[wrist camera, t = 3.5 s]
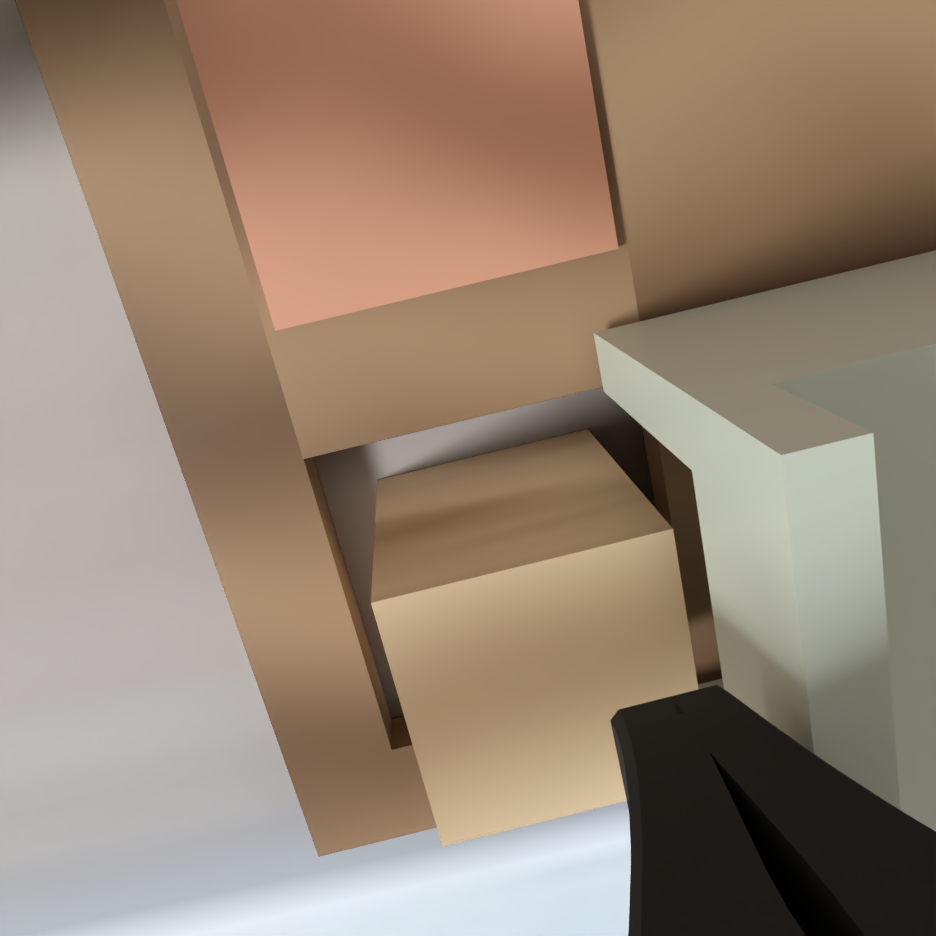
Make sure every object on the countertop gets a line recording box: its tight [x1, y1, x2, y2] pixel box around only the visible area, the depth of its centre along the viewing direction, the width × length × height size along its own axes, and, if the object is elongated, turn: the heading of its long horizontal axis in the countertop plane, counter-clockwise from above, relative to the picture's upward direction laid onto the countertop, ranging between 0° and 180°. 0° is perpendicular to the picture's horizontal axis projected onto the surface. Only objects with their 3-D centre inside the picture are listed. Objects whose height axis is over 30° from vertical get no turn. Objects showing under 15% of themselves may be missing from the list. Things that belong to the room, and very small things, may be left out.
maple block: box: [371, 429, 698, 846], centre depth 14 cm, size 4×4×5 cm
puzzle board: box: [15, 0, 936, 856], centre depth 15 cm, size 16×20×1 cm
